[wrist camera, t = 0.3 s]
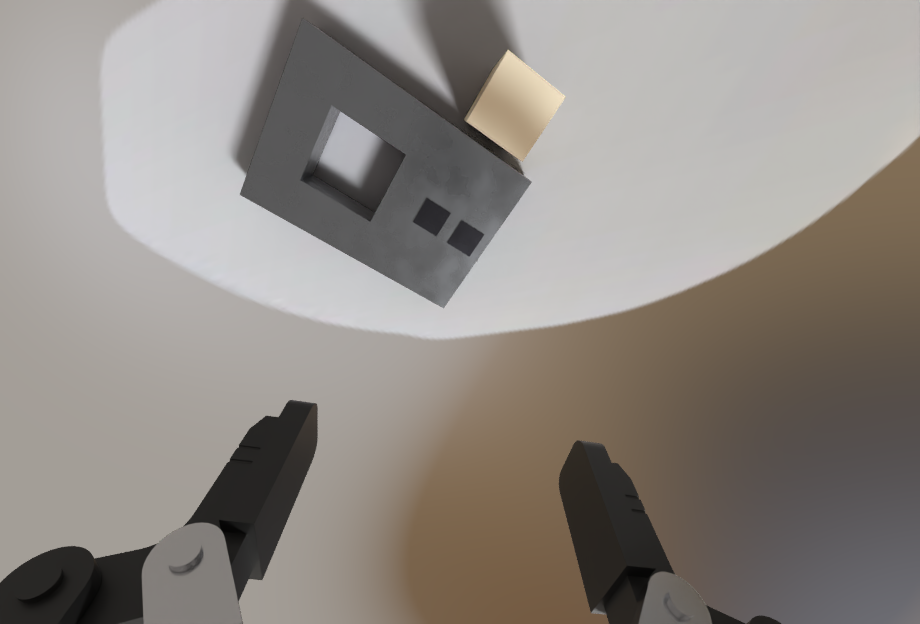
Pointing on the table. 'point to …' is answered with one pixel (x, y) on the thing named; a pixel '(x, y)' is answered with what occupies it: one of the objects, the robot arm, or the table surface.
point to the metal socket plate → (413, 187)
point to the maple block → (514, 106)
